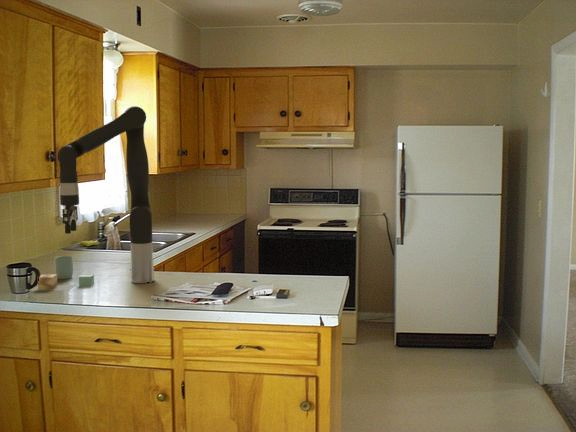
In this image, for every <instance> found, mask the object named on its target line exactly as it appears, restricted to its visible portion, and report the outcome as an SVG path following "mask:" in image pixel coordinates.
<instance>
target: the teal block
mask: <svg viewBox="0 0 576 432" xmlns="http://www.w3.org/2000/svg"><path fill="white" fill-rule="evenodd" d="M93 285H95V274H81V275H79V276H78V286H79V287H92V286H93Z"/></svg>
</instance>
